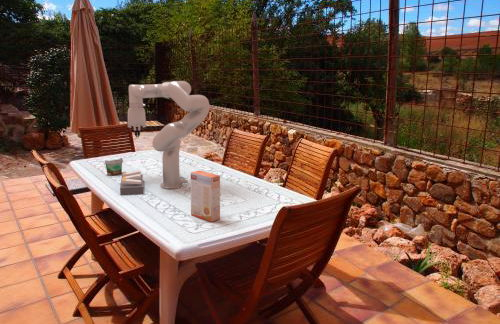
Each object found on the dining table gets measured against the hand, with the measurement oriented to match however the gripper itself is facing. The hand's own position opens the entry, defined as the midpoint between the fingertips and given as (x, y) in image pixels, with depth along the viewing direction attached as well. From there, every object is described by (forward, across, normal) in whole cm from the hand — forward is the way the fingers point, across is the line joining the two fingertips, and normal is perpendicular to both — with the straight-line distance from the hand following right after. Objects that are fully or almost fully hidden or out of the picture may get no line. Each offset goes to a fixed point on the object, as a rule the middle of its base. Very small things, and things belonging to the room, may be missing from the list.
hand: (137, 136), depth 236 cm
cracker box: (+27, -29, +71) cm, 81 cm away
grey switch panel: (+27, +4, +12) cm, 30 cm away
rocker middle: (+21, +4, +14) cm, 26 cm away
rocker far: (+21, +4, +5) cm, 22 cm away
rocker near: (+21, +4, +23) cm, 31 cm away
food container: (+27, +14, -18) cm, 36 cm away
